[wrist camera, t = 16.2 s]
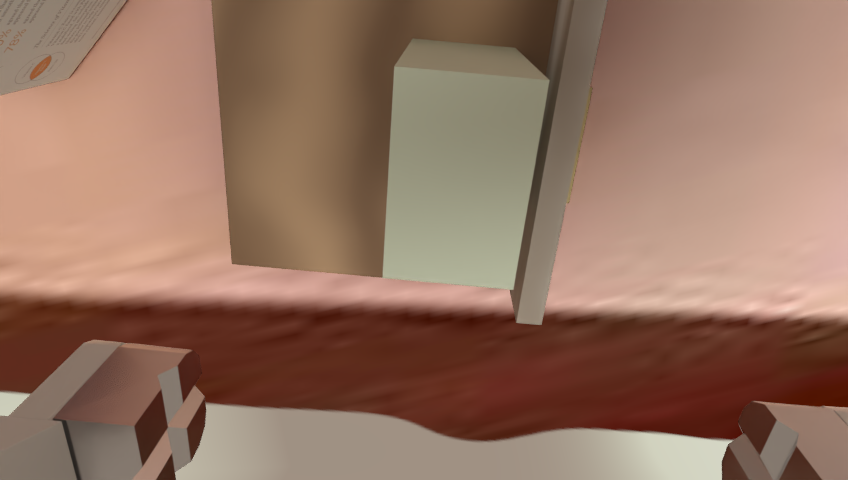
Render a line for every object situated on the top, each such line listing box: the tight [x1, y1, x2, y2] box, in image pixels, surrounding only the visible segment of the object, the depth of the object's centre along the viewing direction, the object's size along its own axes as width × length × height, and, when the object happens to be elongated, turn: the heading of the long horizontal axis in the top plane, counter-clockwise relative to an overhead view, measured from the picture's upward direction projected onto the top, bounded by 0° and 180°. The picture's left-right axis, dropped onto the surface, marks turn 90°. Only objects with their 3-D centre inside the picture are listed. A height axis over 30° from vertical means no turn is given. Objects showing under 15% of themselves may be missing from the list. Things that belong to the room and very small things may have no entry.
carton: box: [382, 39, 550, 290], centre depth 21 cm, size 5×7×9 cm, turn 175°
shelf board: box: [211, 0, 608, 325], centre depth 25 cm, size 16×17×5 cm
